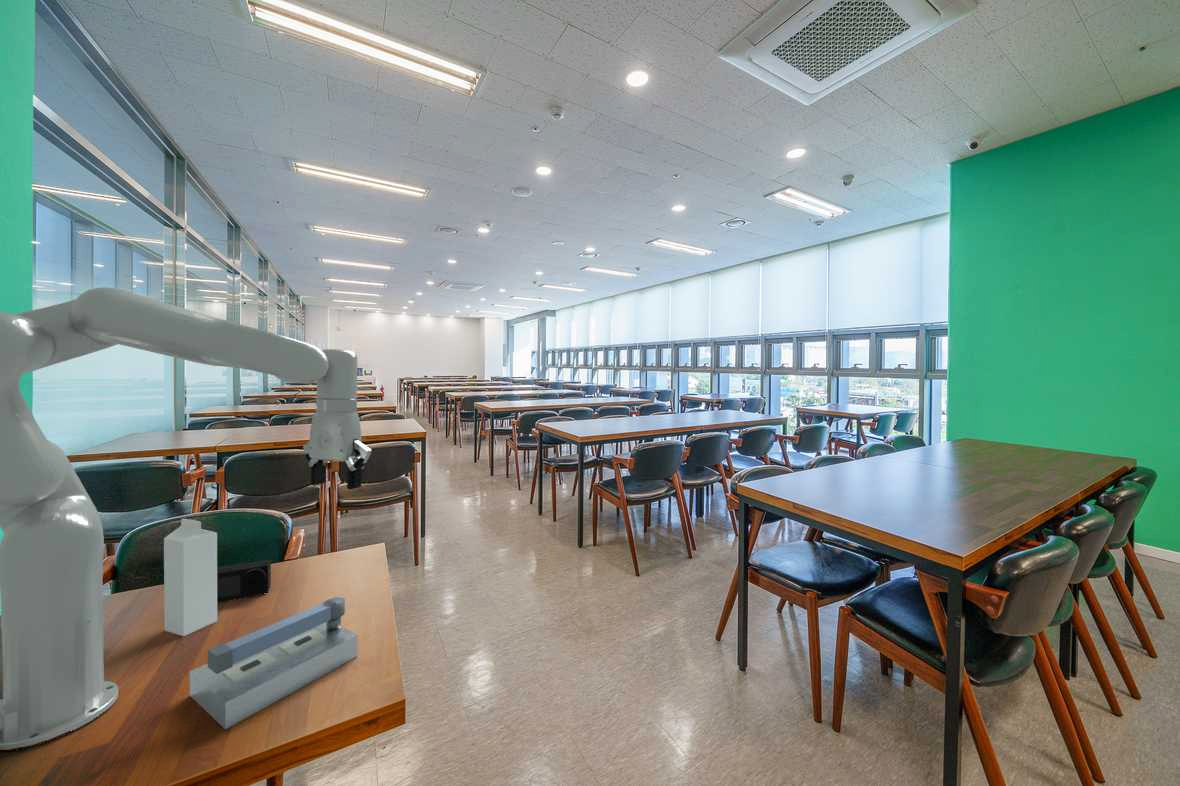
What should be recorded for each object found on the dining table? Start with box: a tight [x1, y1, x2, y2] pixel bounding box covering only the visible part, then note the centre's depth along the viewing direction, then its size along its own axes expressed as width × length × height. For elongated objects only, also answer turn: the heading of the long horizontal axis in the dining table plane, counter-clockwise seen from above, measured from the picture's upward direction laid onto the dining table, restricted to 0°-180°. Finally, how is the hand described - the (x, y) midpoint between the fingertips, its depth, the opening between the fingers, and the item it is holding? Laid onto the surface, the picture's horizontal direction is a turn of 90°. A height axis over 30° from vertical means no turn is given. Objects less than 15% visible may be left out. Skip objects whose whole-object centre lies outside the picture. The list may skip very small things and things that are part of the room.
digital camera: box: [217, 558, 272, 604], centre depth 102 cm, size 10×5×7 cm, turn 119°
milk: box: [163, 518, 218, 637], centre depth 89 cm, size 6×6×22 cm
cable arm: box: [207, 596, 346, 674], centre depth 76 cm, size 20×4×3 cm, turn 150°
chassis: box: [189, 616, 359, 730], centre depth 76 cm, size 20×13×6 cm, turn 150°
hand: (336, 486), depth 94 cm, fingers open, 9 cm apart
